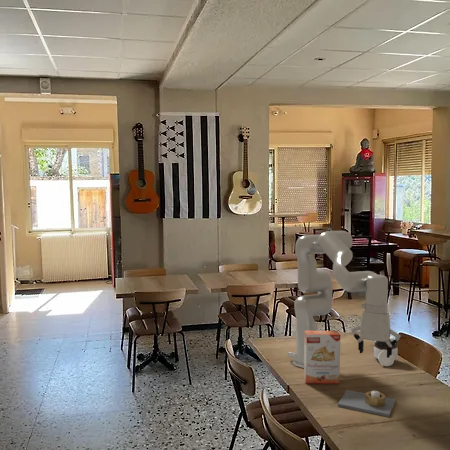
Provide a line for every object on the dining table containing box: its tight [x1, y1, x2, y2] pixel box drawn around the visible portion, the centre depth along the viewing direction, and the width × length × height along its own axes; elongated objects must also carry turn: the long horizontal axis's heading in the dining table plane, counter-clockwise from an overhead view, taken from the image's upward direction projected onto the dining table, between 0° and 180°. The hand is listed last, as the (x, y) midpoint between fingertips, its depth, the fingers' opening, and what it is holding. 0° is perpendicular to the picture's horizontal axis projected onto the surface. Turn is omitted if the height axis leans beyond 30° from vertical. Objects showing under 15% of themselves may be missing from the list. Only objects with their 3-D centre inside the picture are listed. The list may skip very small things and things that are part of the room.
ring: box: [365, 390, 386, 407], centre depth 174 cm, size 7×7×3 cm
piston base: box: [337, 389, 396, 418], centre depth 175 cm, size 18×14×5 cm
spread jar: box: [373, 334, 399, 367], centre depth 219 cm, size 12×11×12 cm
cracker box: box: [303, 330, 341, 385], centre depth 196 cm, size 14×6×21 cm, turn 90°
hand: (374, 354), depth 175 cm, fingers open, 9 cm apart
